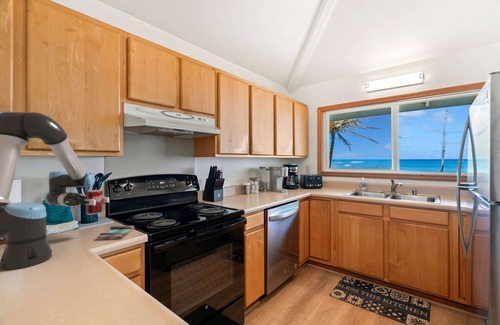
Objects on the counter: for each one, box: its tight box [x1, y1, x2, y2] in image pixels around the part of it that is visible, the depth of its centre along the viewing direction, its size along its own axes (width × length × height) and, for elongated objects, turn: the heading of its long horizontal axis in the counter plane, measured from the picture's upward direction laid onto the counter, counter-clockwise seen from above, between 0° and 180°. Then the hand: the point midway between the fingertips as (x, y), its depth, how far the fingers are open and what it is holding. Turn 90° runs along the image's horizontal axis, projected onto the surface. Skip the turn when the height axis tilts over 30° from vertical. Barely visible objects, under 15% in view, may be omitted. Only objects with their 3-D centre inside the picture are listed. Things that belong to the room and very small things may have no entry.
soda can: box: [85, 189, 104, 215], centre depth 123 cm, size 7×7×12 cm
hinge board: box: [96, 225, 135, 241], centre depth 126 cm, size 12×18×3 cm, turn 8°
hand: (101, 201), depth 122 cm, fingers closed on soda can, 7 cm apart
